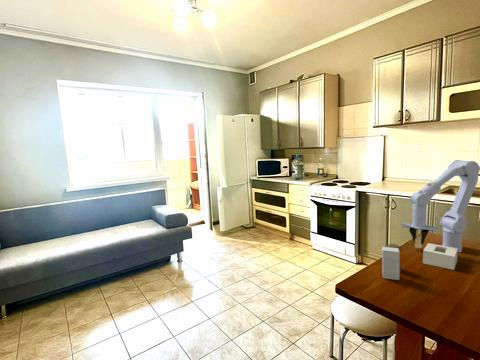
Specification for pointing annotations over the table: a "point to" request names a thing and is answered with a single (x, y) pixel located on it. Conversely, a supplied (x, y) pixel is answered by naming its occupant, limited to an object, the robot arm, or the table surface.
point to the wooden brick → (418, 242)
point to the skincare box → (390, 263)
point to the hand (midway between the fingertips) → (418, 243)
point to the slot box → (440, 256)
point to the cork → (394, 247)
